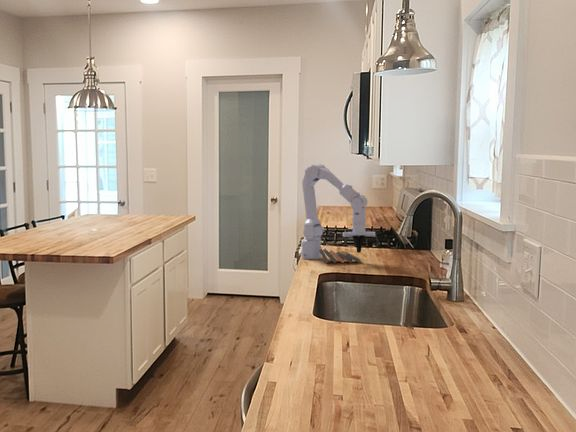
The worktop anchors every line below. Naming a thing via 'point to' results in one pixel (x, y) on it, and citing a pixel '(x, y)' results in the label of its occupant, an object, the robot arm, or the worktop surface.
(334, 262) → the charcoal tile
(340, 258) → the brick tile
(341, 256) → the charcoal tile
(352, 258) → the charcoal tile
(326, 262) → the charcoal tile
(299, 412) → the worktop surface
